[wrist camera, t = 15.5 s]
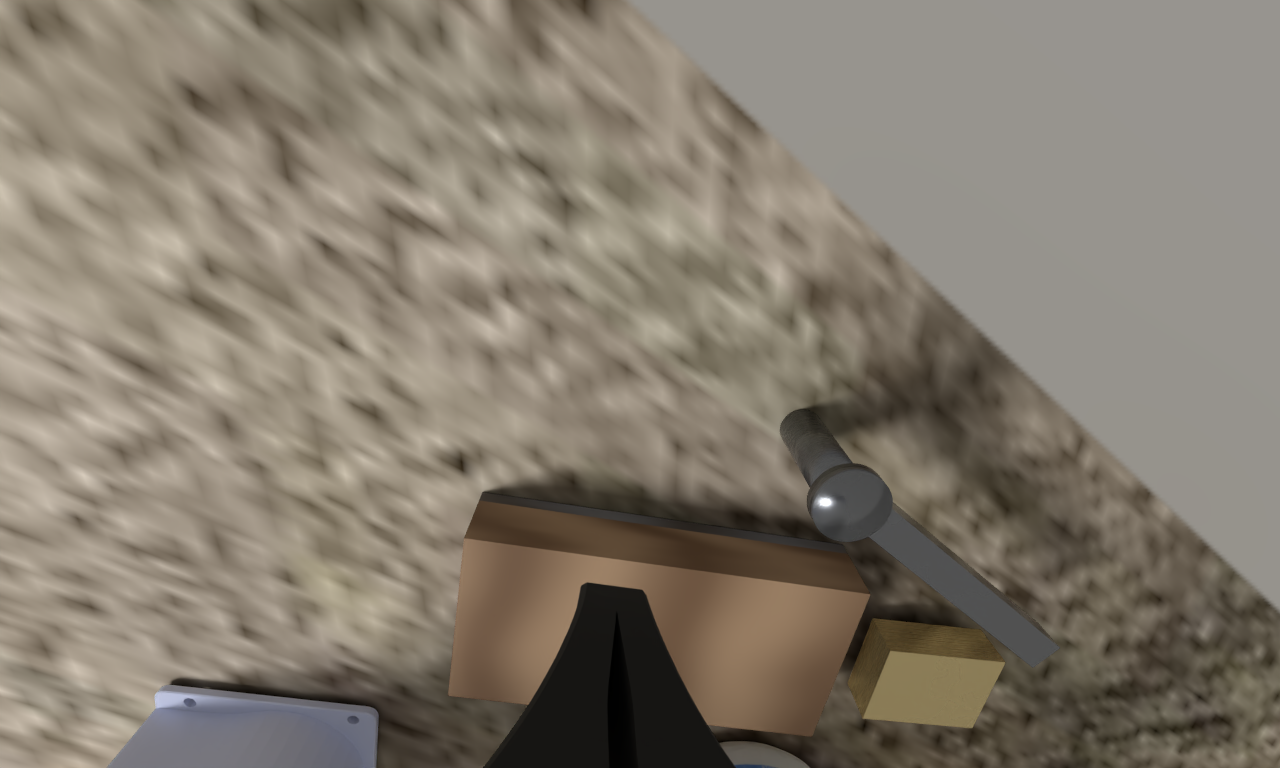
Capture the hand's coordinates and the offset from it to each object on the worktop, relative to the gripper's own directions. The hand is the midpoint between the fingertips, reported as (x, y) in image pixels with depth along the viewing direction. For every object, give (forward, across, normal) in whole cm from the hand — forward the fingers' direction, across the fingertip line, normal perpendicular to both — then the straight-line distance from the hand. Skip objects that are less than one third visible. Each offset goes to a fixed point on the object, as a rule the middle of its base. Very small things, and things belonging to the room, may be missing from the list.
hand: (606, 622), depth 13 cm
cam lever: (+10, -11, +2) cm, 16 cm away
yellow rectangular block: (+8, -15, +9) cm, 19 cm away
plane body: (+10, -3, +8) cm, 13 cm away
